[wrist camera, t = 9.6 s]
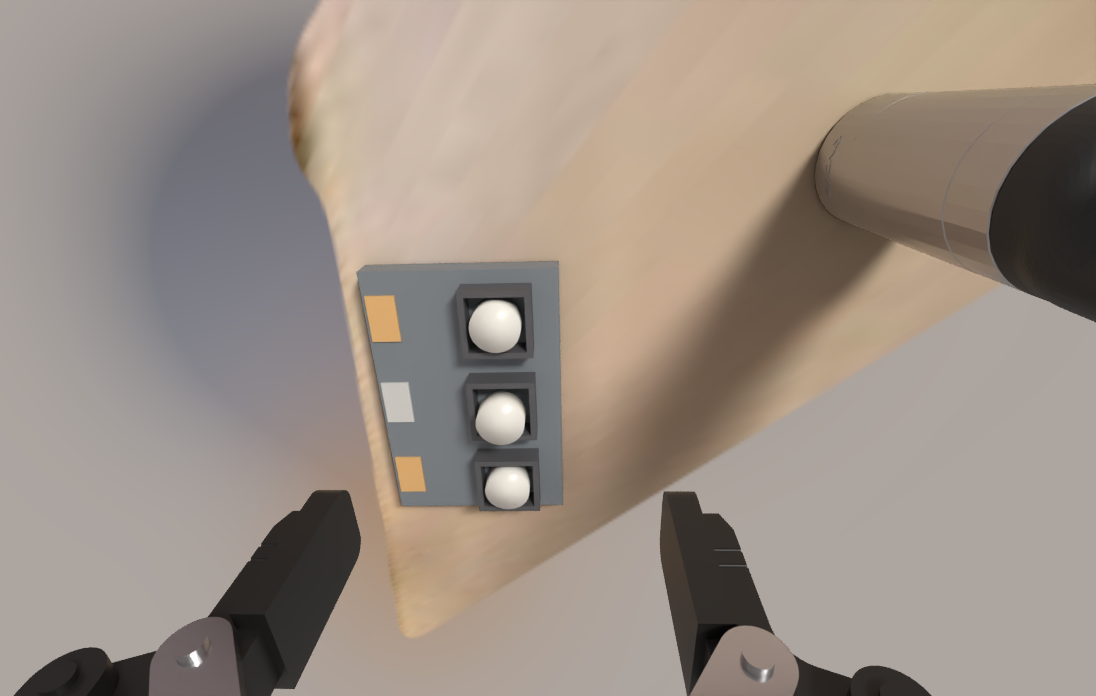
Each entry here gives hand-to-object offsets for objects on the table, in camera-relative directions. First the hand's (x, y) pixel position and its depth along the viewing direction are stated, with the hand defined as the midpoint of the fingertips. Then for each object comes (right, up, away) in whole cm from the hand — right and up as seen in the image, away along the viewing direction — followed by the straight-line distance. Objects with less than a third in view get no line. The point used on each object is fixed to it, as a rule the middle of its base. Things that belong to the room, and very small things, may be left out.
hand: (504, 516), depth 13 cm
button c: (-3, -8, +35) cm, 36 cm away
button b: (-3, -1, +30) cm, 31 cm away
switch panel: (-6, 0, +34) cm, 34 cm away
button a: (-3, +7, +28) cm, 29 cm away
